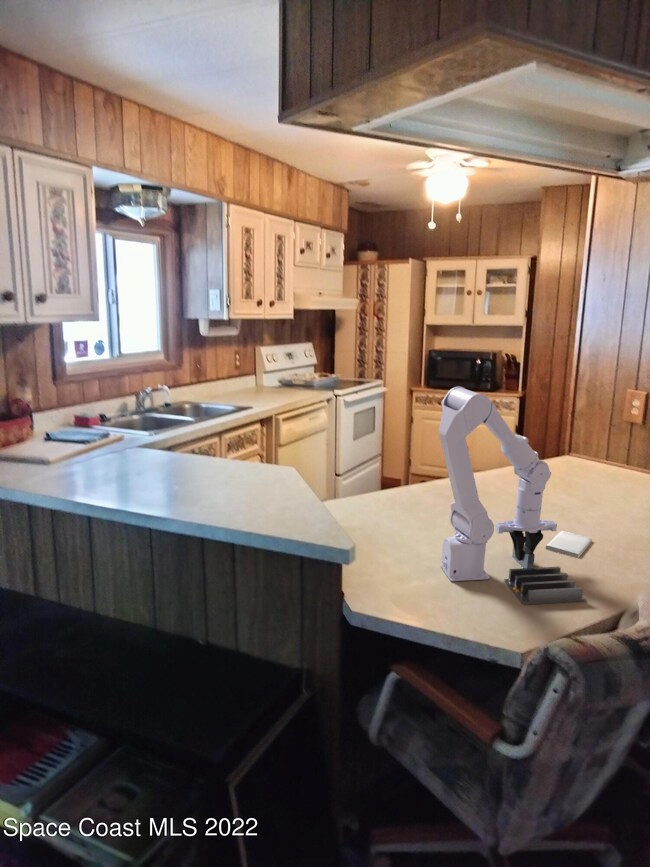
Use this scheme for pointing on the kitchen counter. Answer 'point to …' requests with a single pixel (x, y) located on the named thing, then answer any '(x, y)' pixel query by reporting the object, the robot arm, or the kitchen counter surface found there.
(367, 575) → the kitchen counter surface
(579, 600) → the slot rack
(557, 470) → the kitchen counter surface
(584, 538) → the hard drive
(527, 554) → the panel
